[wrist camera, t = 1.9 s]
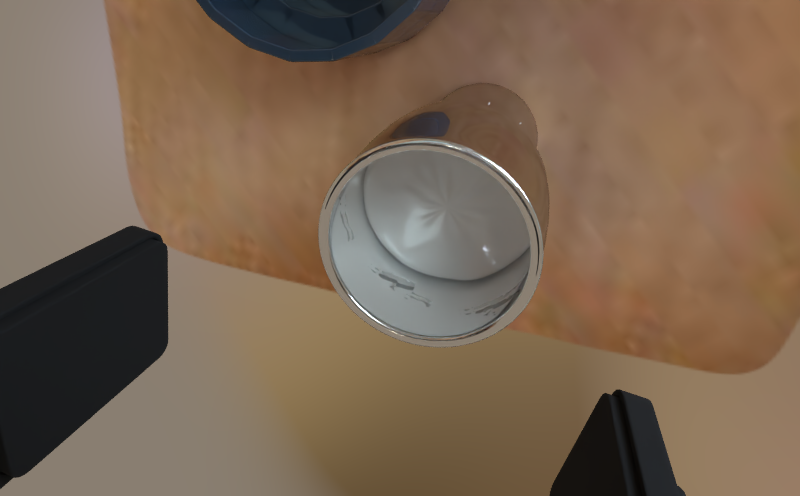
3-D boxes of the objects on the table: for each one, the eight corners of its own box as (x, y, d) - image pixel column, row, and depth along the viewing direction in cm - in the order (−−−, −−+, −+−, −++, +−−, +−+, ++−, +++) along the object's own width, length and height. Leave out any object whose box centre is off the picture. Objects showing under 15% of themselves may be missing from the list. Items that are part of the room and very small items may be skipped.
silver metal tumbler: (529, 210, 28) (518, 379, 15) (412, 186, 29) (306, 323, 16) (561, 84, 25) (585, 157, 12) (429, 64, 26) (315, 108, 13)
